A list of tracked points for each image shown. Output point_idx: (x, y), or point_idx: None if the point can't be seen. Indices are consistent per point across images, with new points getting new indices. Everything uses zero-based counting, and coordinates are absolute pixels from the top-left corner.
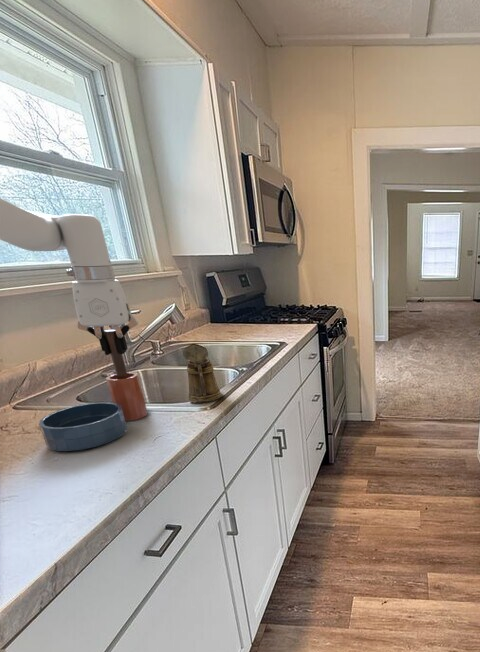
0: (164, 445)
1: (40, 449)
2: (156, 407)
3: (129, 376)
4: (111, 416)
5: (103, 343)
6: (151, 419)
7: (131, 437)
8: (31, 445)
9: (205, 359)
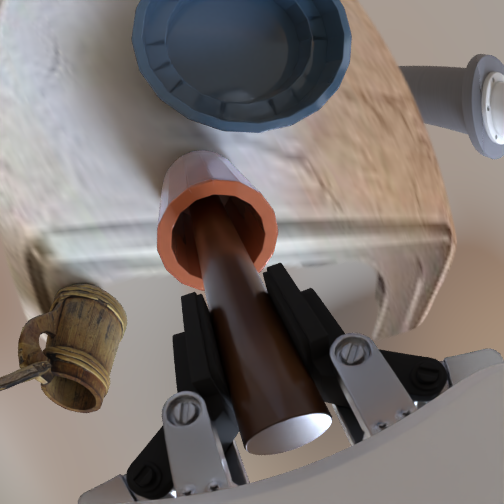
0: (26, 34)
1: None
2: None
3: None
4: (138, 11)
5: (302, 312)
6: (132, 167)
7: (121, 51)
8: None
9: (70, 406)
